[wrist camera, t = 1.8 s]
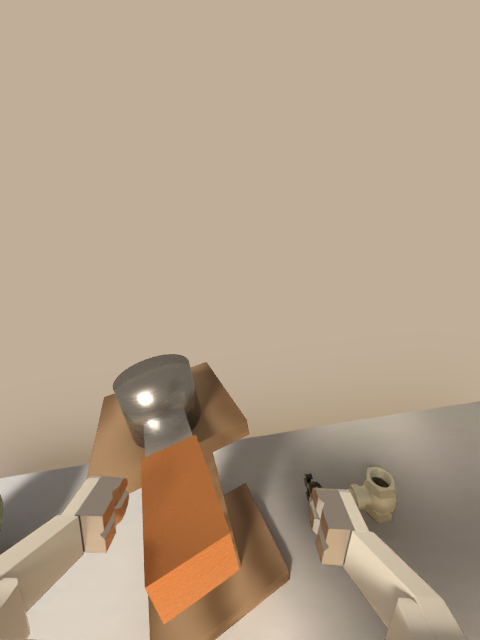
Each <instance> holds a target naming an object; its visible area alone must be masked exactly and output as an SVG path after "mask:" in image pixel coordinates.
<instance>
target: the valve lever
mask: <svg viewBox="0 0 480 640" xmlns="http://www.w3.org/2000/svg"><path fill="white" fill-rule="evenodd" d="M113 390H114V392H115V395H116V397H117V400H118V403H119V405H120V408H121V410H122V413H123V415H124V418H125V420H126V423H127V425H128V428H129V430H130V433H131V436H132V438H133V441H134V442H135V443H136V444H137V445H138V446H139V447H142V448H145V458H143V459H141V478H142V509H143V540H144V572H145V589H146V591H147V593H148V595H149V597H150V599H151V601H152V603H153V605H154V606H155V608H156V610H157V612H158V614H159V616H160V618H161V620H162V622H163V624H166V623H167V622H168V621H170V620H171V619H173V618H174V617H175V616H177V615H178V614H180V613H181V612H182V611H184V610H185V609H186V608H188V607H189V606H191V605H192V604H193V603H195V602H196V601H198V600H199V599H200V598H202V597H203V596H204V595H206V594H207V593H209V592H210V591H211V590H213V589H214V588H216V587H217V586H218V585H220V584H221V583H222V582H224V581H225V580H227V579H228V578H229V577H231V576H232V575H234V574H235V573H236V572H238V571H239V570H240V569H239V565H238V561H237V558H236V554H235V550H234V546H233V542H232V538H231V534H230V531H229V528H228V525H227V522H226V519H225V517H224V514H223V511H222V508H221V505H220V502H219V499H218V497H217V494H216V491H215V488H214V485H213V482H212V479H211V476H210V474H209V471H208V468H207V465H206V462H205V459H204V456H203V453H202V451H201V448H200V445H199V442H198V439H197V436H196V435H192V432H191V431H192V430H193V429H194V428H195V426H196V425H197V423H198V422H199V419H200V416H201V408H200V404H199V400H198V396H197V392H196V388H195V384H194V380H193V376H192V372H191V368H190V364H189V361H188V359H187V358H186V357H184V356H181V355H175V354H169V355H161V356H156V357H152V358H149V359H146V360H144V361H141V362H139V363H137V364H135V365H133V366H131V367H129V368H128V369H126V370H125V371H124V372H122V373H121V374H120V375H119V376H118V377H117V379H116V380H115V381H114V383H113Z"/></svg>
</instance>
